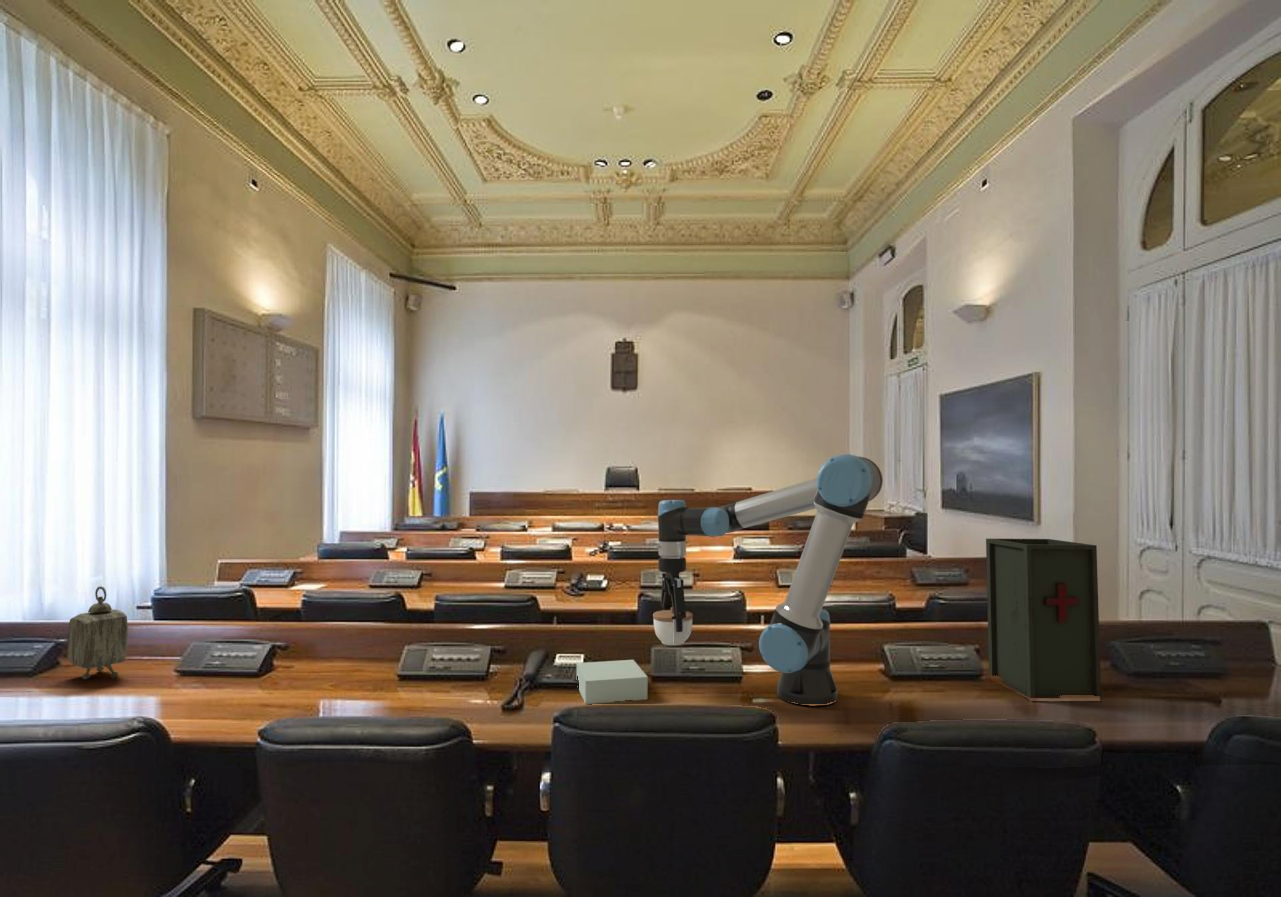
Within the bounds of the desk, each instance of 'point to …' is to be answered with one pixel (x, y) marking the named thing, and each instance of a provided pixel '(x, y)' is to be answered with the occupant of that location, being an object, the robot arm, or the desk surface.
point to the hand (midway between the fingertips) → (673, 638)
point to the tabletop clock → (98, 637)
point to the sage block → (611, 681)
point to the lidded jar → (670, 625)
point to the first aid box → (1043, 616)
